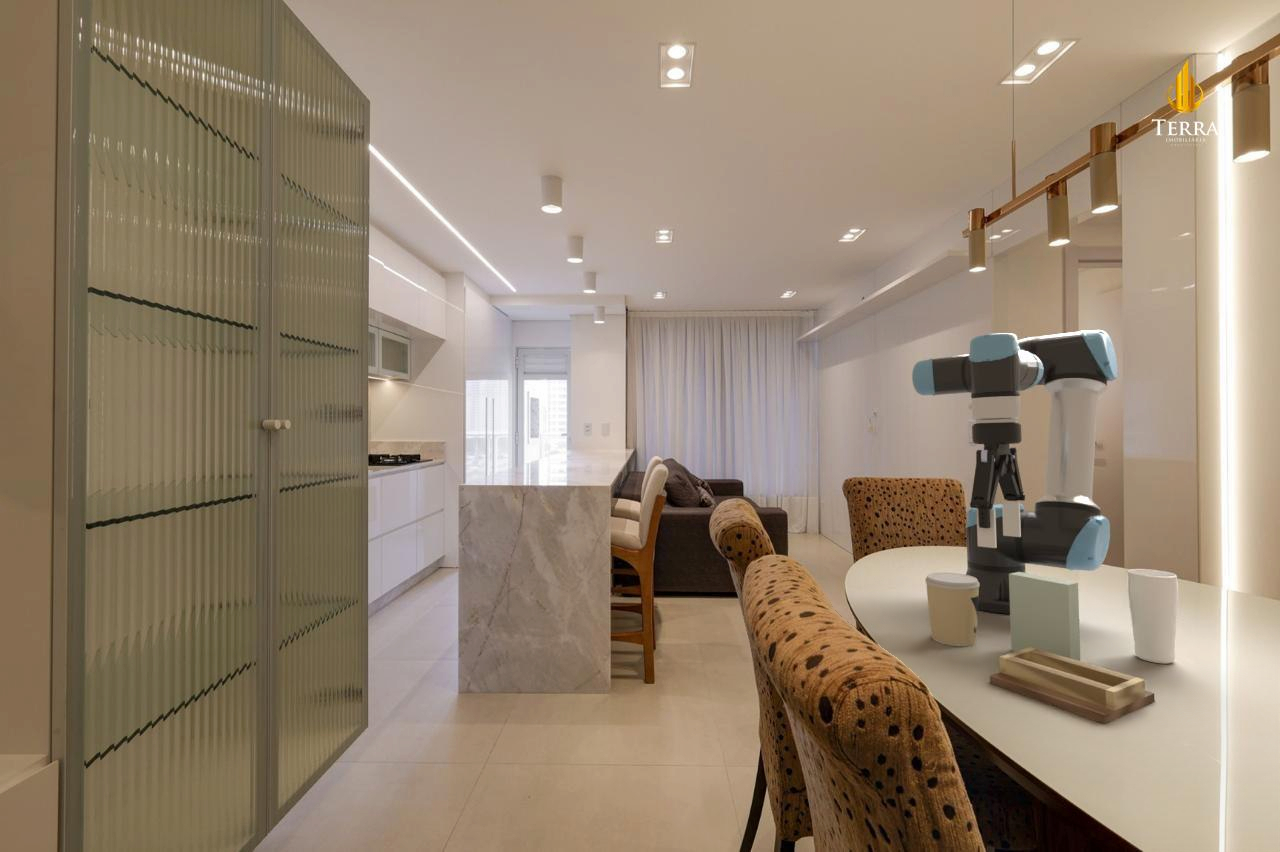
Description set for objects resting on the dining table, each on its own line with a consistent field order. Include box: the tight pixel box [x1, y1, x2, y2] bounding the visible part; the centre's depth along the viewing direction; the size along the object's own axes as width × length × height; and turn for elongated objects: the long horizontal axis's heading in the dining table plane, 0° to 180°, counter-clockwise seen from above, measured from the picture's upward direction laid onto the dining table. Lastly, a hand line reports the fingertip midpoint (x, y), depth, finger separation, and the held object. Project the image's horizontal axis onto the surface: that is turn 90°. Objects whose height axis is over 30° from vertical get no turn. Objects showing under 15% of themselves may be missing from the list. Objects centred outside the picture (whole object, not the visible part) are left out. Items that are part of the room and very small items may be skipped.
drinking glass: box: [1126, 568, 1179, 665], centre depth 106 cm, size 7×7×15 cm
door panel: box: [1009, 572, 1082, 662], centre depth 108 cm, size 3×10×14 cm, turn 28°
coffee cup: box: [925, 572, 980, 647], centre depth 118 cm, size 9×9×12 cm
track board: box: [989, 647, 1155, 725], centre depth 93 cm, size 14×16×4 cm
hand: (1000, 541), depth 108 cm, fingers open, 13 cm apart
